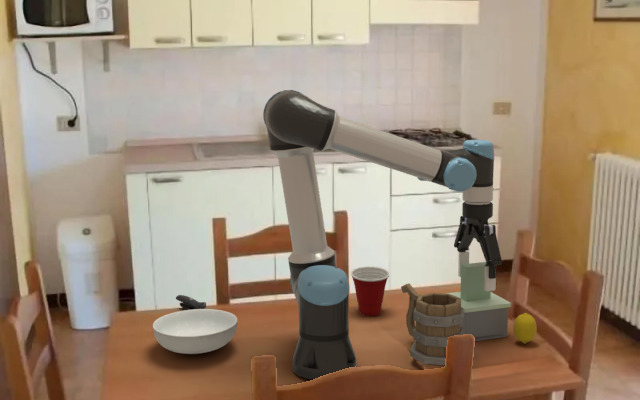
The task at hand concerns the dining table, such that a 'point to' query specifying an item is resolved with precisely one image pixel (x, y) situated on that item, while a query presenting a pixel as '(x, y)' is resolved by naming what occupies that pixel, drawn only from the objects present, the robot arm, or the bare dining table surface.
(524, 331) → the lemon
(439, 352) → the tankard
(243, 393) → the dining table surface
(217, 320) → the serving bowl
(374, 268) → the plastic cup
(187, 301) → the black stapler
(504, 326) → the parts tub
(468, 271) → the lid
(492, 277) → the robot arm
